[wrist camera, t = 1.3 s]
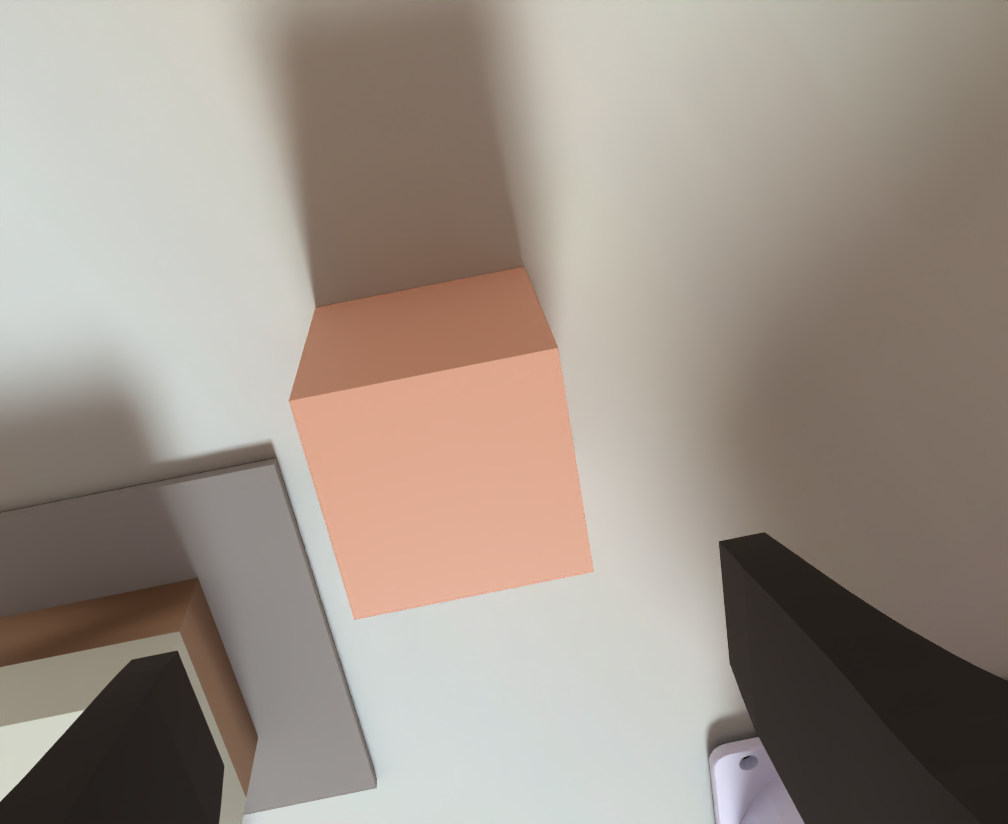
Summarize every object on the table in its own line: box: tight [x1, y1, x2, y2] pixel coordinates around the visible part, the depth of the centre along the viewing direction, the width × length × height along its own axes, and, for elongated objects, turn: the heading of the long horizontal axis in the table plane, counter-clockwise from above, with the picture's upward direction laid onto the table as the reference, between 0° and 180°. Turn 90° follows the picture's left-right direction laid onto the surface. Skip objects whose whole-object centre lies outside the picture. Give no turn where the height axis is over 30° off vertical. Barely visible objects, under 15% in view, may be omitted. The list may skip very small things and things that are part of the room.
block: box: [289, 267, 594, 620], centre depth 19 cm, size 4×4×5 cm
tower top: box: [0, 632, 246, 824], centre depth 20 cm, size 5×5×2 cm
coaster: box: [0, 458, 377, 815], centre depth 23 cm, size 10×10×1 cm
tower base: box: [0, 578, 258, 797], centre depth 22 cm, size 5×5×2 cm
